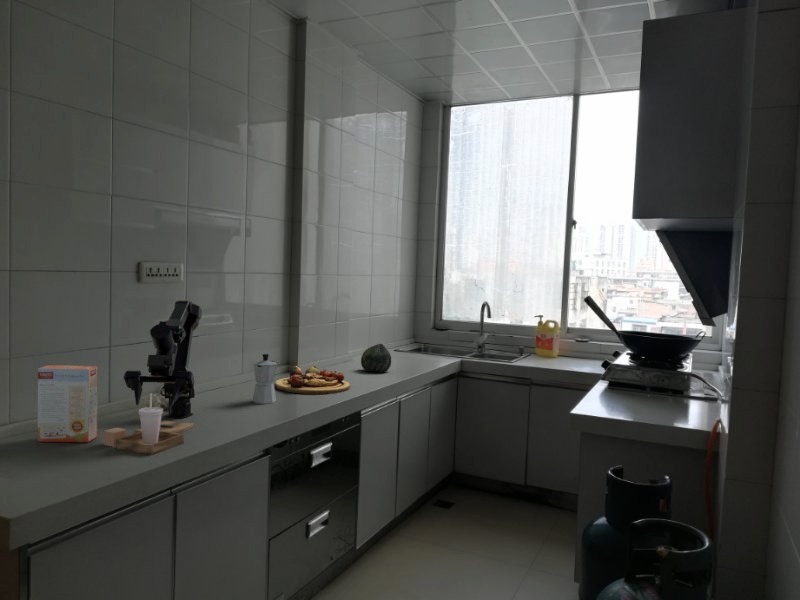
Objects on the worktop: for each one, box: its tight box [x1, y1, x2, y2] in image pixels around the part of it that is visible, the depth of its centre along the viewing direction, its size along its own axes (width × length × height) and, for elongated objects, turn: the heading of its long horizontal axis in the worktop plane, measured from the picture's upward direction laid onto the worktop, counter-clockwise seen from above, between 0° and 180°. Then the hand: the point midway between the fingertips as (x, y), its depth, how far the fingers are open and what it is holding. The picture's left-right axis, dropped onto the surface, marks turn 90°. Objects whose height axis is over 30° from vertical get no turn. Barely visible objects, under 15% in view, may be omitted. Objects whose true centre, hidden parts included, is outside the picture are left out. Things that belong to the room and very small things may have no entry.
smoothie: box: [137, 392, 164, 445], centre depth 169 cm, size 6×6×14 cm
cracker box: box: [37, 364, 98, 443], centre depth 171 cm, size 14×6×21 cm, turn 92°
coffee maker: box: [252, 353, 277, 405], centre depth 229 cm, size 15×9×18 cm, turn 168°
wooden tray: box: [115, 430, 185, 456], centre depth 169 cm, size 12×12×2 cm
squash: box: [360, 343, 392, 373], centre depth 302 cm, size 14×15×15 cm
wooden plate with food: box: [274, 365, 351, 395], centre depth 259 cm, size 32×32×8 cm
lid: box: [134, 420, 196, 434], centre depth 186 cm, size 12×12×1 cm
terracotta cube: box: [103, 427, 127, 448], centre depth 169 cm, size 4×4×4 cm
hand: (153, 404), depth 171 cm, fingers open, 9 cm apart
